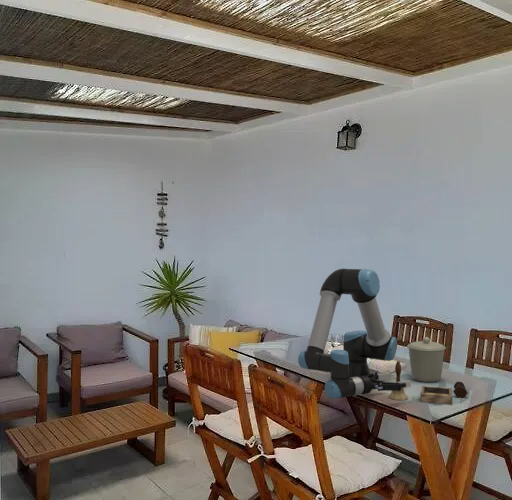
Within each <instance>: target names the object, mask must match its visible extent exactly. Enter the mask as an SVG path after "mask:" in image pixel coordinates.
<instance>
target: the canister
mask: <svg viewBox="0 0 512 500" xmlns="http://www.w3.org/2000/svg"><path fill="white" fill-rule="evenodd" d="M406 347H407V348H408V353H409V354H408V355H409V362H410V363H409V364H410V370H411V376H412V378H413V379H414V380H416V381H419V382H421V383H422V382H424V383H434V382H438V381H439V380H441V377H442V375H443V374H442V371H443V367H444V366H443V365H444V357H445V356H444V355H445V350H447V349H446V348H447V347H446V346H444V345H443V343H439V342H436V341H431V338H430V337H429V336H424V337H423V338H422V340H421V341H413V342H410V343H408V344H407V345H406Z"/></svg>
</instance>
